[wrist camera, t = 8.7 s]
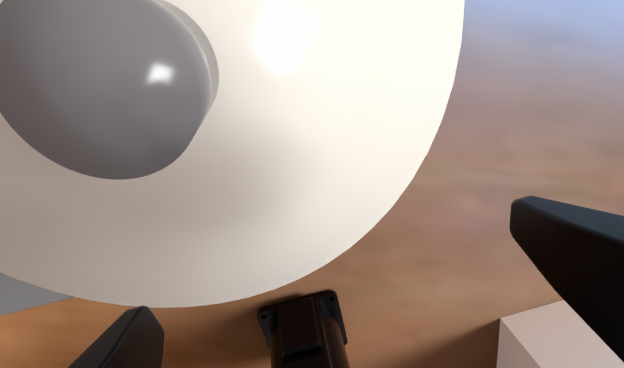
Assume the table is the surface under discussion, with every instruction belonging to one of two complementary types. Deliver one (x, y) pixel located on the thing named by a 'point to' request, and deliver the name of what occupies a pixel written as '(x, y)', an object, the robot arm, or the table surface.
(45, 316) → the table surface
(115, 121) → the lid
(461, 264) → the table surface
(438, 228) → the table surface
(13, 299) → the mat
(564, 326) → the milk
